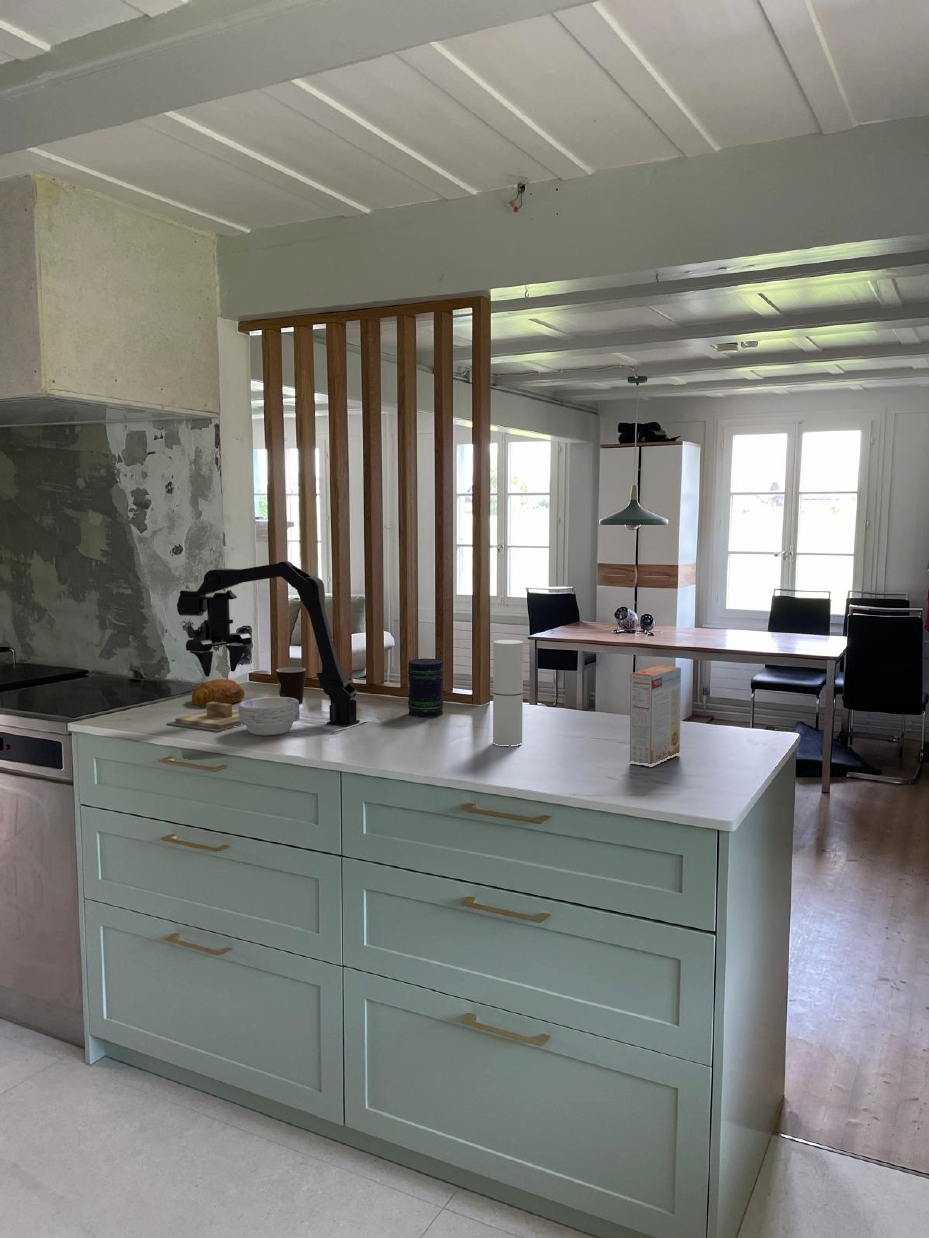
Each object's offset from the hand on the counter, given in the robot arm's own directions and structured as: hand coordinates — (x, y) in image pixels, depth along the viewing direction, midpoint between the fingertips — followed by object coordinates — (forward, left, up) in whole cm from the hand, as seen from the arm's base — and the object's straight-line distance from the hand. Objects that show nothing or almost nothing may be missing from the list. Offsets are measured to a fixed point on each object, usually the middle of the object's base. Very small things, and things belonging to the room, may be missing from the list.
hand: (220, 673), depth 249 cm
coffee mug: (-1, -29, -13) cm, 32 cm away
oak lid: (0, +1, -12) cm, 12 cm away
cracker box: (-115, -16, -13) cm, 117 cm away
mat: (0, +1, -13) cm, 13 cm away
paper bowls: (-20, +4, -13) cm, 24 cm away
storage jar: (-44, -34, -13) cm, 57 cm away
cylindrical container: (-79, -14, -13) cm, 81 cm away
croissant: (+19, -19, -13) cm, 30 cm away
